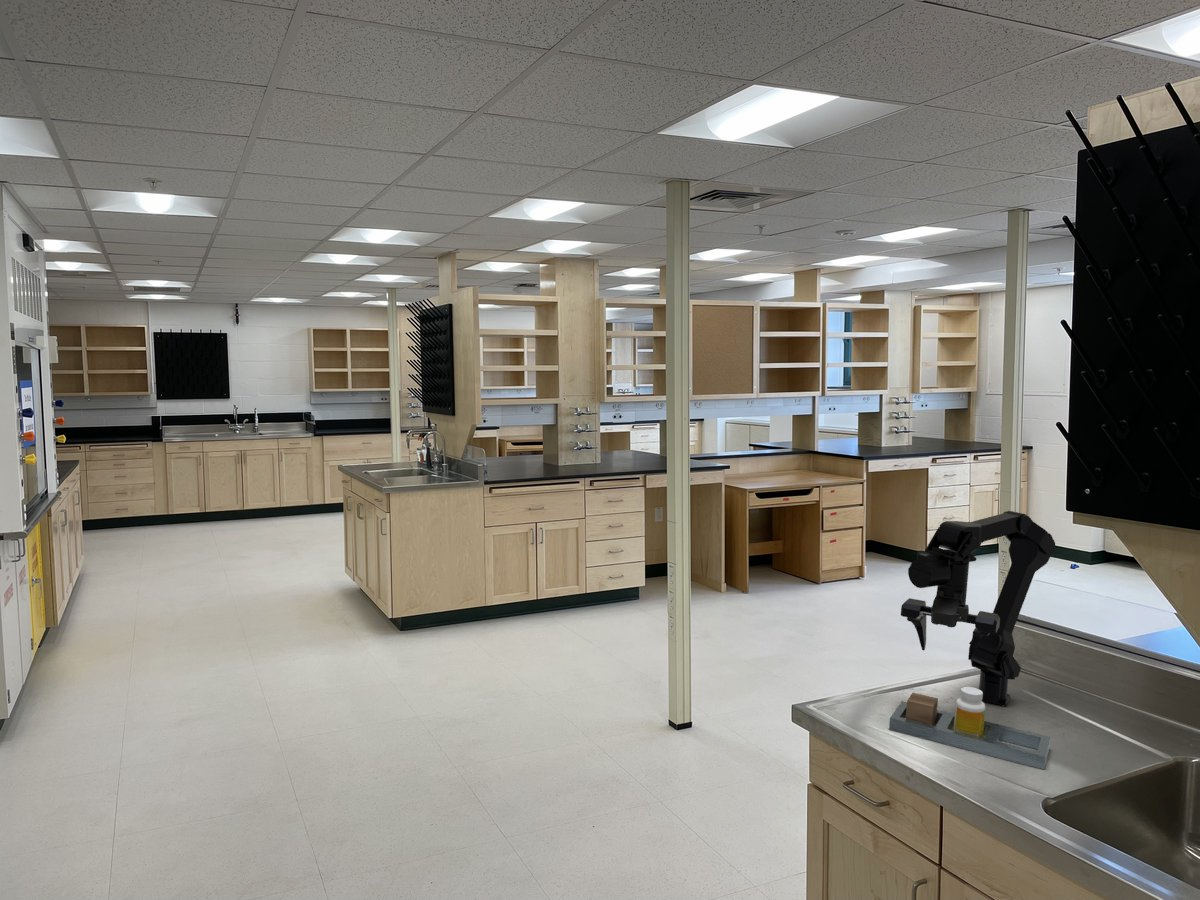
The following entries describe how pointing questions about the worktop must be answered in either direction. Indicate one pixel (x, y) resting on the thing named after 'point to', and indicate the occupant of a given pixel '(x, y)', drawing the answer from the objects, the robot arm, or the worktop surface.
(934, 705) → the walnut block
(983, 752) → the rail
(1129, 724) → the worktop surface
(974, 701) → the supplement bottle
